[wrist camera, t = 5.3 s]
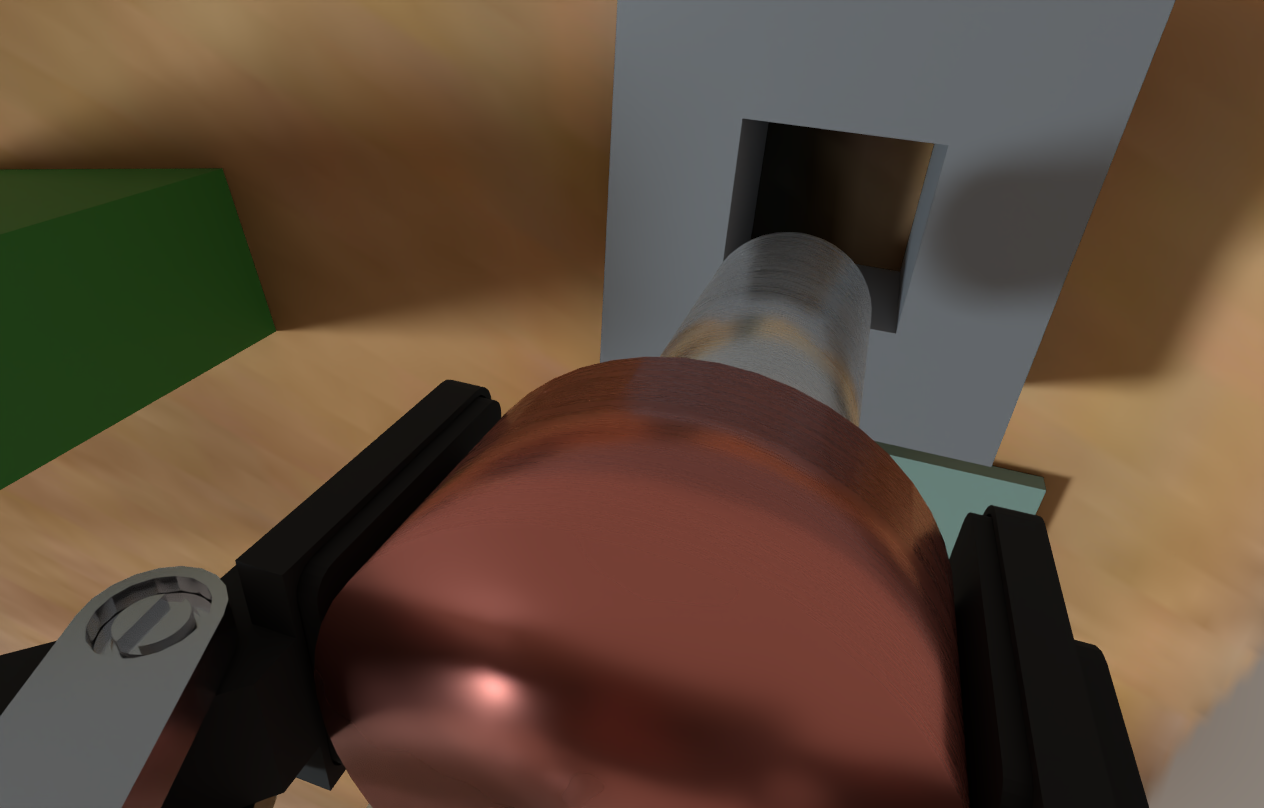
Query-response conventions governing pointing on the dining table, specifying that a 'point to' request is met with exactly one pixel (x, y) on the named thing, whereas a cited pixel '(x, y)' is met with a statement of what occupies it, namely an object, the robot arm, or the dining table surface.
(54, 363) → the green cereal box
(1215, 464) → the dining table surface
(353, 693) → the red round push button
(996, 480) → the mat
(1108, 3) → the grey flat block
